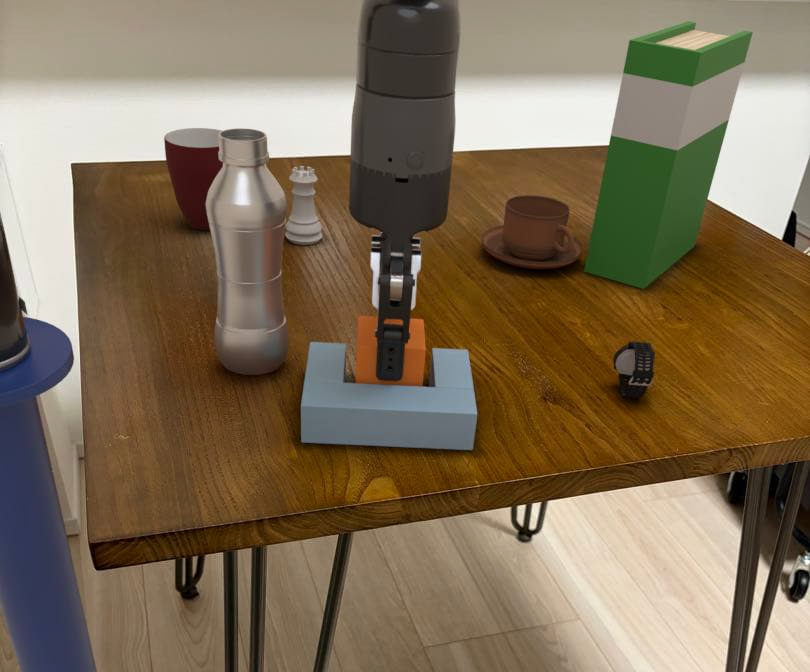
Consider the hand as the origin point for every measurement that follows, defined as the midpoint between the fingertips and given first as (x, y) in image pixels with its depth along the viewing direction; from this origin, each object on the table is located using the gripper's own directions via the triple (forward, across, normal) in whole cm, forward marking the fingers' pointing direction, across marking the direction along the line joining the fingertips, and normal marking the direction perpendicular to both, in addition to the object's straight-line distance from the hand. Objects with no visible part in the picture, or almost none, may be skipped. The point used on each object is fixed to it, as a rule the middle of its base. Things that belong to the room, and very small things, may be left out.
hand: (388, 360), depth 76 cm
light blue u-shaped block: (+4, +2, 0) cm, 4 cm away
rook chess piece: (+4, -37, -10) cm, 39 cm away
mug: (+4, -41, -22) cm, 47 cm away
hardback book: (+4, -37, +31) cm, 48 cm away
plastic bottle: (+4, -5, -12) cm, 14 cm away
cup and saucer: (+4, -35, +17) cm, 39 cm away
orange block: (+1, 0, 0) cm, 1 cm away
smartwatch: (+4, -3, +22) cm, 23 cm away
